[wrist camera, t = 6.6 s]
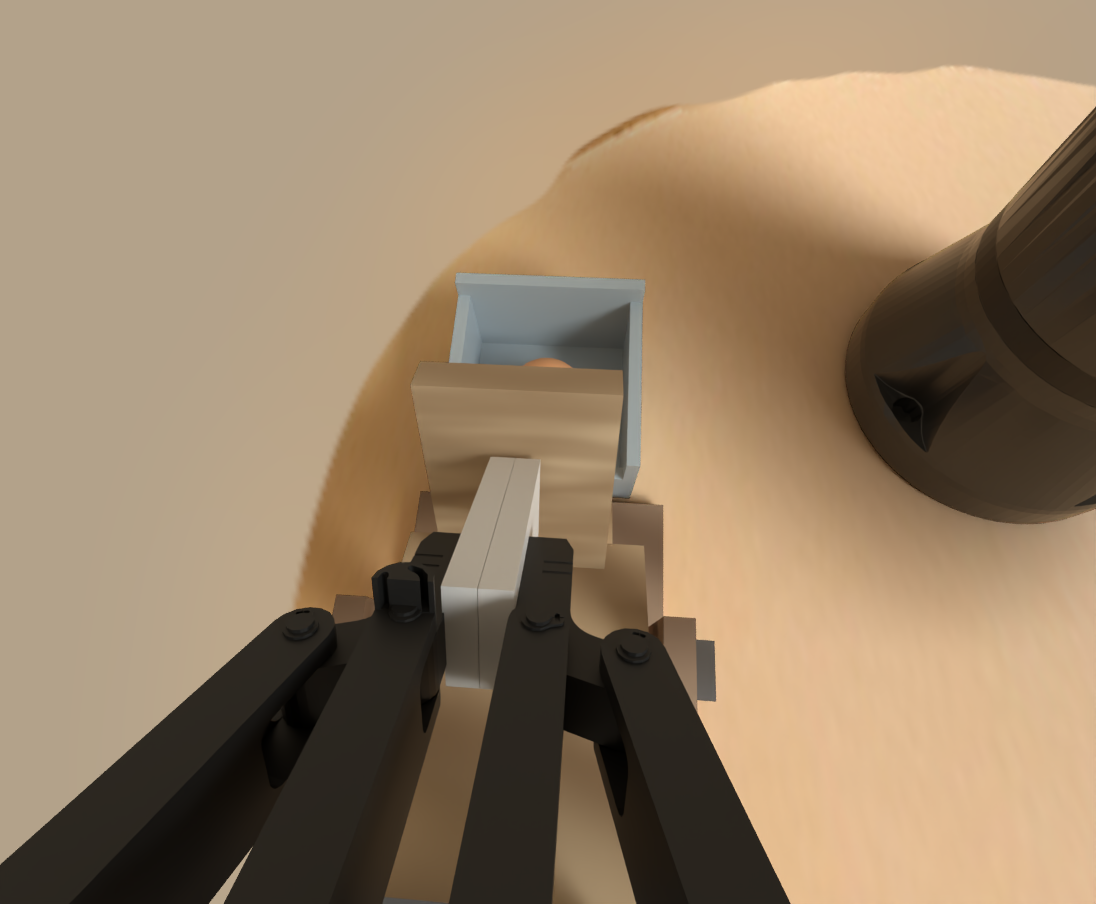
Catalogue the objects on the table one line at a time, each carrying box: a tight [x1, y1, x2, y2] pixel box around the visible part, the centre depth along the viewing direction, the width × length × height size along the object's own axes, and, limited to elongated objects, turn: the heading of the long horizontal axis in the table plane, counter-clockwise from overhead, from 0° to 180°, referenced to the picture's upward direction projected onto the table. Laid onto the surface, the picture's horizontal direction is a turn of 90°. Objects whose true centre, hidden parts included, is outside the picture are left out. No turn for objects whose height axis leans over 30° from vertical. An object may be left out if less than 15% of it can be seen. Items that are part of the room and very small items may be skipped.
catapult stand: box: [332, 491, 716, 711], centre depth 24 cm, size 15×13×10 cm
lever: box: [382, 361, 649, 904], centre depth 17 cm, size 22×9×9 cm
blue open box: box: [449, 273, 645, 498], centre depth 30 cm, size 9×9×6 cm
